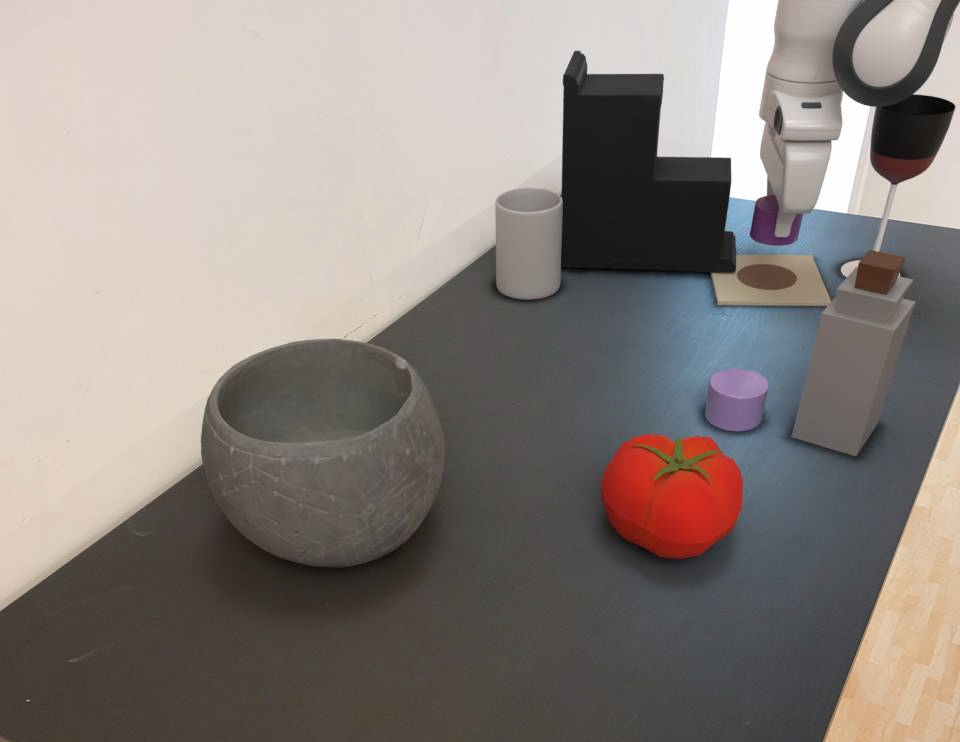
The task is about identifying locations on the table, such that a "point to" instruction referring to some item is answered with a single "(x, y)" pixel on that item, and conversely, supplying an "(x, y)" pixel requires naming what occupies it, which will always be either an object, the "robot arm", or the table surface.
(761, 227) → the squat plum drum
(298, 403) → the bowl
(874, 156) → the wineglass
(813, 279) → the placemat
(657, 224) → the bookend
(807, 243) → the table surface
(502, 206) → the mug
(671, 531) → the tomato
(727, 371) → the lilac cylinder
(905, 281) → the perfume bottle
